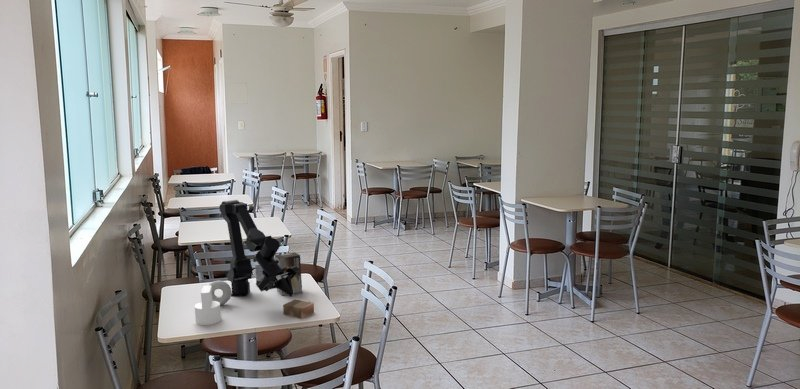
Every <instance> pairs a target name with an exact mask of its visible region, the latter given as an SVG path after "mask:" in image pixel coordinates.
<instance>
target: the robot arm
mask: <svg viewBox="0 0 800 389" xmlns="http://www.w3.org/2000/svg"><path fill="white" fill-rule="evenodd" d="M218 208H219V212H220V215H221V217H222V218H223V219H224V221H225V222H226V223H227V224H226V225H227V228H228V229H227V230H228V236H229V242H230V248H231V254H232V258H231V262H230V263H229V267H230V268H229V271H228V273H227V274H226V278H227V281H229V282H230V283H231V291H232V294H231V297H232V296H233V297H246V296H247V295H248V294H249V293H251V283H250V282H249V280H251V279H252V277H253V266H252V262H251V261H252V260H253V263H256V262H257V264H259V265H260V266H261V268H262V269H263V271H262V274H263V275H264V277H263V278H262V279H261V280H258V281H257V282H256V281H255V285H256V286H257V288H258V289H259V291H260V292H264V291H266V292H268V291H269V290H273V289H277V288H278V289H280V290H282V291H283V292H285V293H286V294H288V296H290V297H293V296H294V293H293V289H292V284H291V279H292V278H293V277H294V276H295V275H296V274H297V273H298V272H299V271H300V270H299V269H298V267H297V266H293V267H290V268H288V270H287V271H286V272H285V273H284V271H285V269H284V268H283V269H281V267H280V266H279V265H278V263H279V261H278V260H276V261H275V255H277V252H278V250H279V249H280V247H281V244H280V241H279V240H278V239H276V238H274V237H272V235H265V233H264V232H263V231H261V230H259V228H258V227H257V225H256V224H255V221H254V220H253V218H252V215H251V214H250V212H249V209H248V206H247V204H246V203H244V202H243V201H239V200H238V199H233V200H231V199H230V200H224V201H222V202H221V204H219V207H218ZM241 228H242V230H243V232H244V234H245V235H246V239H245V243H246V247H247V249H248V251H250V252H252V253H254V252H256V254H253V258H252V260H251V259H250V258H248V257H247V255H246V254H245V249H244V241H243V235H242V230H241Z"/></svg>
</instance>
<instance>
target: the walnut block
mask: <svg viewBox="0 0 800 389" xmlns="http://www.w3.org/2000/svg"><path fill="white" fill-rule="evenodd" d="M282 309H283V315H284V316H290V317H294V318H299V319H305V318H306V317H308V316H311V315H312V314H315V303H314V302H311V301H306V300H301V299H295V298H294V299H293V300H290V301H288V302H286V303H284V304H283V308H282Z"/></svg>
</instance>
